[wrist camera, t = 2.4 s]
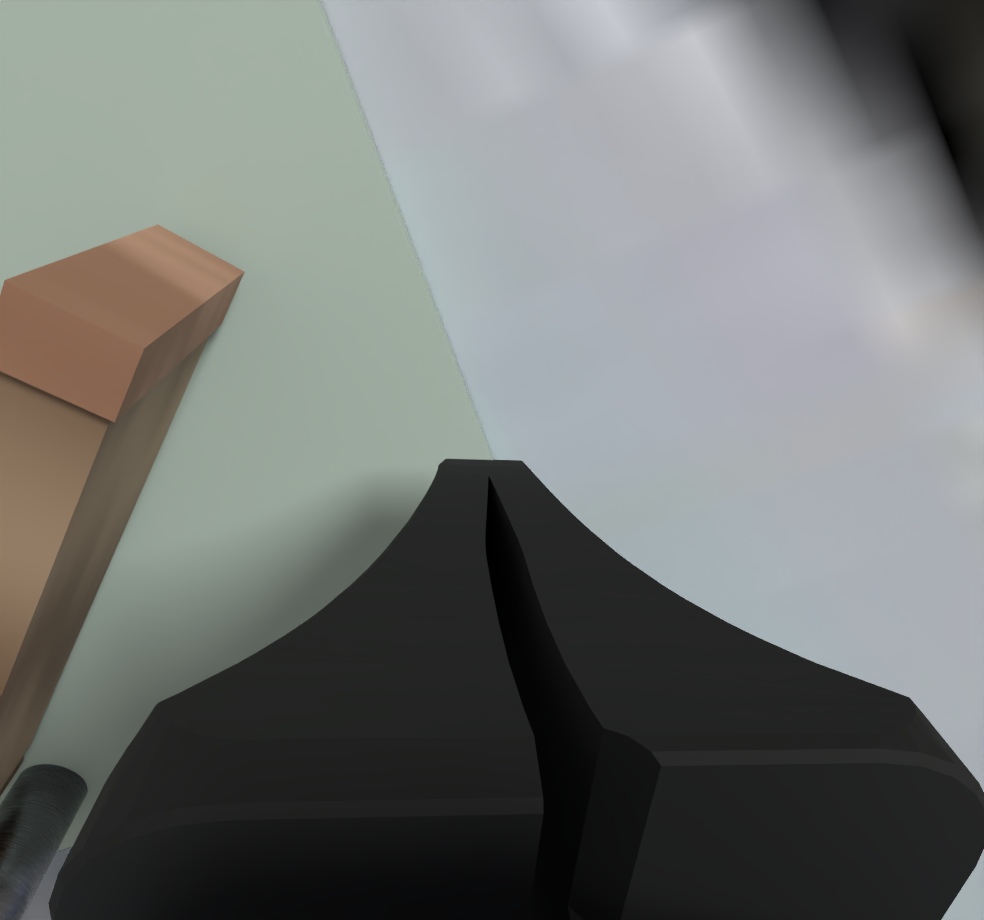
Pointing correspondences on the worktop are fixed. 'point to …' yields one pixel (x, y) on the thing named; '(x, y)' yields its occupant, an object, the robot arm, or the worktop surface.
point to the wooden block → (85, 436)
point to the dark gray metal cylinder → (34, 830)
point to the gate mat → (228, 331)
